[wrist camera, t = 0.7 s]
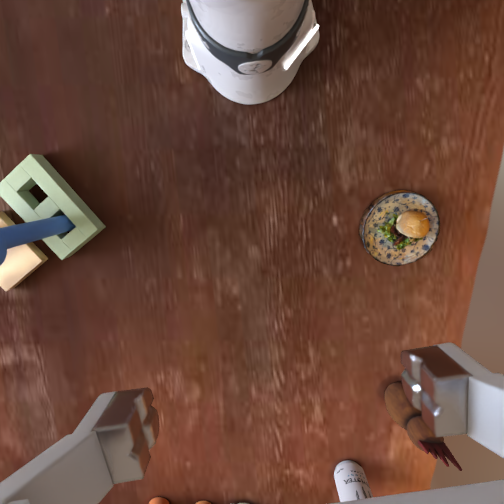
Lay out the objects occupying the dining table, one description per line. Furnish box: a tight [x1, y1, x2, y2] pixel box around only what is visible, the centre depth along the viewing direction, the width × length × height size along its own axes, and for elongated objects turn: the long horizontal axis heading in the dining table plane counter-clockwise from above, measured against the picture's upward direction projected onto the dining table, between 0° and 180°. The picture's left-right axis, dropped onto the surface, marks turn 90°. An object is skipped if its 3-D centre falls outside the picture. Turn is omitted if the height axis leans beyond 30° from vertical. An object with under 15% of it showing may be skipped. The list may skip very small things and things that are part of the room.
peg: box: [0, 215, 76, 266], centre depth 39 cm, size 6×6×18 cm
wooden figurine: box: [384, 382, 462, 471], centre depth 47 cm, size 7×6×15 cm
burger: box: [359, 190, 440, 266], centre depth 43 cm, size 12×12×8 cm
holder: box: [0, 154, 106, 260], centre depth 46 cm, size 8×14×2 cm, turn 37°
